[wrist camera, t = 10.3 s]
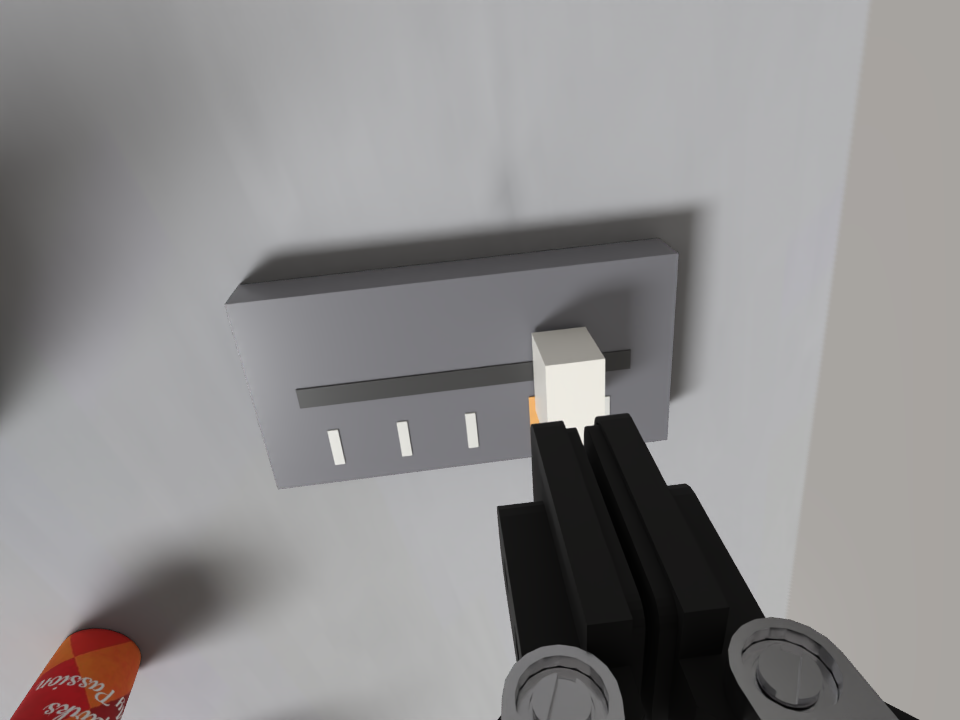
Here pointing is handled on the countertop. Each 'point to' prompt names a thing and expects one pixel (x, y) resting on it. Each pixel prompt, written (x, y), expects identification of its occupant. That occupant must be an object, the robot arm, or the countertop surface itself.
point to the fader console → (445, 356)
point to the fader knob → (568, 377)
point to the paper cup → (84, 679)
